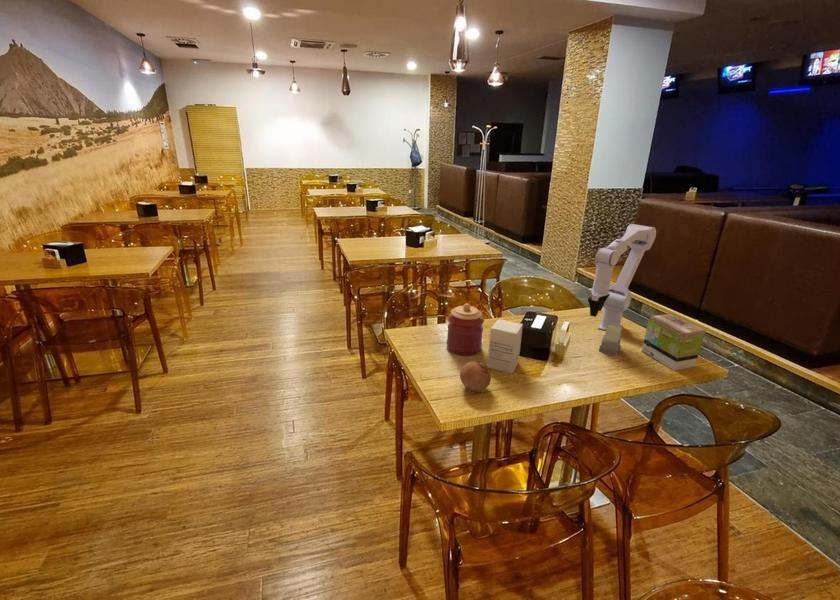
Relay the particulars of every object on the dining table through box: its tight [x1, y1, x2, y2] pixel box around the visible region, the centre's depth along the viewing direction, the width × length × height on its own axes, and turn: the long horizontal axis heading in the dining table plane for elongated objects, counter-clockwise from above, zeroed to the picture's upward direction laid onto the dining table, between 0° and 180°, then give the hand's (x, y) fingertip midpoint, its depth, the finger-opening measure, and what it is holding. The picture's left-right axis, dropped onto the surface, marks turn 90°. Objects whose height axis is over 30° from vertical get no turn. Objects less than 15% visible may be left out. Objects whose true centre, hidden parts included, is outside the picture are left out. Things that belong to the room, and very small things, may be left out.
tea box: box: [641, 313, 707, 371], centre depth 150 cm, size 15×10×15 cm, turn 18°
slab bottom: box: [598, 344, 622, 357], centre depth 158 cm, size 6×6×2 cm
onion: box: [459, 360, 492, 394], centre depth 130 cm, size 10×9×10 cm
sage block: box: [604, 325, 623, 343], centre depth 156 cm, size 4×4×4 cm
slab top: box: [600, 334, 621, 351], centre depth 157 cm, size 6×6×2 cm
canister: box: [446, 303, 485, 356], centre depth 154 cm, size 13×13×18 cm
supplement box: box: [486, 318, 524, 374], centre depth 143 cm, size 9×9×15 cm
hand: (595, 313), depth 165 cm, fingers open, 7 cm apart
